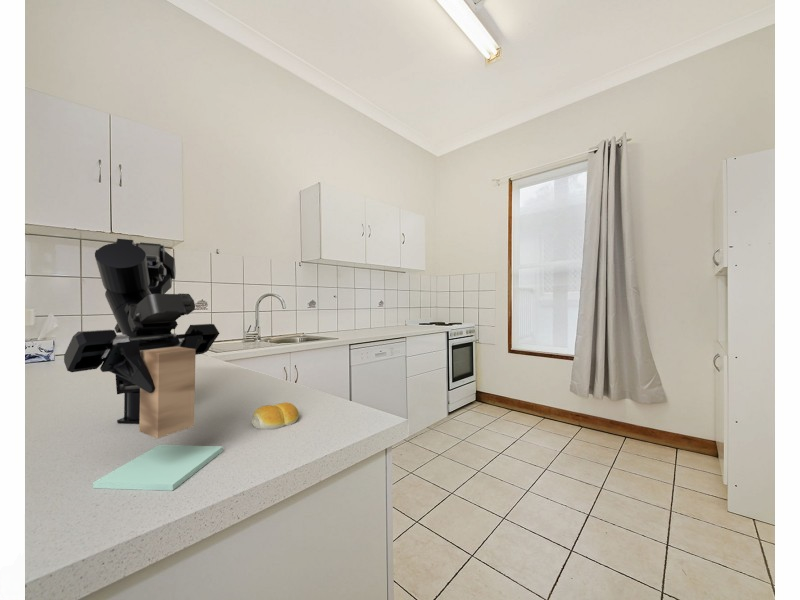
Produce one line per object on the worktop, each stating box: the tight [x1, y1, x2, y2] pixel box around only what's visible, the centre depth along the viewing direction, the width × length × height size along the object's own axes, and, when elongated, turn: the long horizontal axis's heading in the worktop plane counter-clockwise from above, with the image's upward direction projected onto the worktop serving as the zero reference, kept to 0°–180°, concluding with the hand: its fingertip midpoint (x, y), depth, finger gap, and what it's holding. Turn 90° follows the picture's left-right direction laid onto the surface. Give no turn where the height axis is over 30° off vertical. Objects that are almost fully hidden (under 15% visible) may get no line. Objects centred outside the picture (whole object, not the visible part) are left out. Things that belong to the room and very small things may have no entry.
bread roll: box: [251, 402, 300, 431], centre depth 66 cm, size 8×9×4 cm
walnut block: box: [138, 347, 196, 439], centre depth 47 cm, size 5×5×12 cm
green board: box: [92, 444, 224, 492], centre depth 47 cm, size 11×11×1 cm
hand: (173, 386), depth 47 cm, fingers closed on walnut block, 5 cm apart
